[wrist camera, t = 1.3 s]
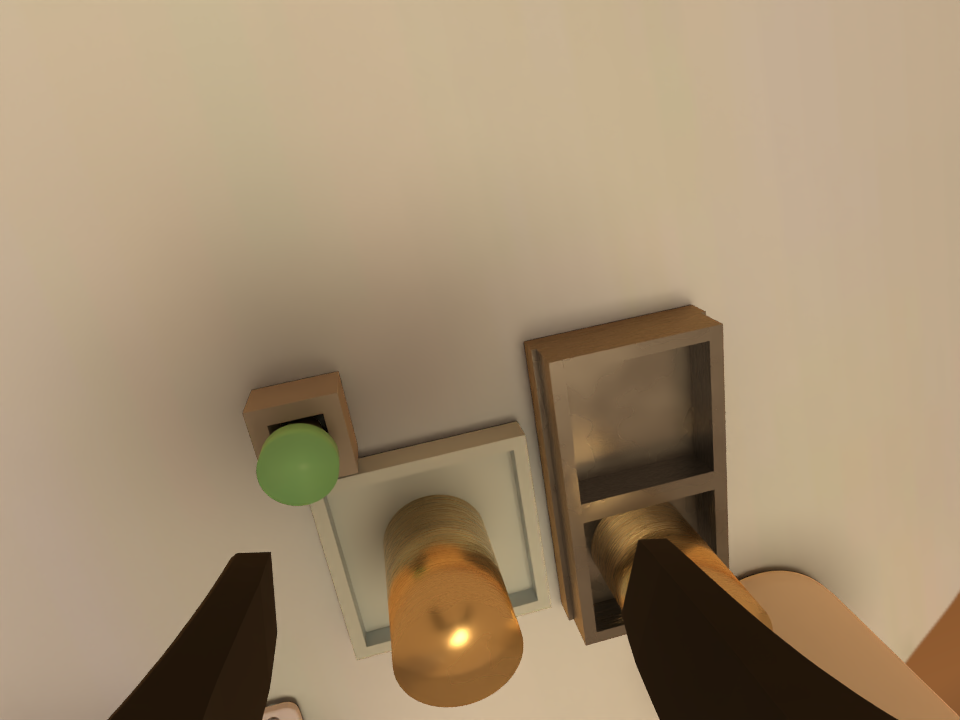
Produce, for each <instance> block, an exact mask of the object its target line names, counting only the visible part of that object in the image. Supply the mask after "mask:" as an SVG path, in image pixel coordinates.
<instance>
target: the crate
mask: <svg viewBox="0 0 960 720" xmlns="http://www.w3.org/2000/svg"><path fill="white" fill-rule="evenodd" d="M524 346H525V353H526V360H527V367H528V373H529V380H530V387H531V394H532V401H533V408H534V415H535V422H536V429H537V436H538V443H539V450H540V456H541V463H542V470H543V477H544V484H545V491H546V498H547V505H548V512H549V519H550V526H551V533H552V539H553V546H554V553H555V560H556V567H557V574H558V581H559V588H560V595H561V602H562V606H563V608H564V610H565V612H566V614H567V617H568V619H569V620H572V619H574V621H575V623H576V625H577V627H578V629H579V632H580V634H581V636H582V638H583V640H584V643H585V645H590V644H593V643H597V642H600V641H604V640H607V639H611V638H614V637H618V636H622V635H625V634H627V633H626V629H625V625H624V622H623V618H622V615H621V613H622V610H621V608H620V606H619V605H618V603H617V601H616V599H615V598H614V596H613V594H612V592H611V591H610V589H609V587H608V585H607V584H606V582H605V580H604V578H603V577H602V575H601V573H600V571H599V570H598V568H597V566H596V564H595V563H594V560H593V557H592V553H591V544H592V538H593V535H594V532H595V530H596V528H597V526H598V524H599V523H600V522H601V520H602V519H603V518H606V517H610V516H613V515H617V514H621V513H625V512H629V511H633V510H637V509H641V508H645V507H648V506H652V505H656V504H660V503H664V502H669V503H670V504H672V505H673V506H674V507H675V508H676V509H677V510H678V511H679V513H680V514H681V515H682V516H683V517H684V518H685V519H686V521H687V522H688V523H689V524H690V525H691V526H692V528H693V529H694V530H695V531H696V532H697V533H698V534H699V536H700V537H701V538H702V539H703V540H704V541H705V542H706V544H707V545H708V546H709V547H710V548H711V549H712V550H713V552H714V553H715V554H716V555H717V556H718V557H719V559H720V560H721V561H722V562H723V563H724V564H725V565H726V567H727V568H728V569H729V548H728V509H727V469H726V430H725V391H724V352H723V324H722V323H720V322H718V321H716V320H714V319H712V318H710V317H708V316H706V311H703V310H701V309H699V308H697V307H695V306H693V305H689V306H684V307H680V308H675V309H670V310H666V311H661V312H657V313H652V314H648V315H643V316H638V317H634V318H629V319H625V320H620V321H616V322H611V323H607V324H602V325H597V326H593V327H588V328H584V329H579V330H575V331H570V332H565V333H561V334H556V335H552V336H547V337H543V338H538V339H533V340H529V341H524Z"/></svg>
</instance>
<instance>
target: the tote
mask: <svg viewBox="0 0 960 720" xmlns="http://www.w3.org/2000/svg"><path fill="white" fill-rule="evenodd" d="M430 495H450V496H454V497H458V498H460V499H462V500H465V501H466V502H468V503H469V504H471V505H472V506H473V507H474V508H475V509H476V510H477V511H478V513H479V514H480V516H481V518H482V520H483V522H484V525H485V528H486V531H487V534H488V537H489V540H490V543H491V546H492V548H493V551H494V554H495V557H496V560H497V563H498V566H499V569H500V572H501V575H502V578H503V581H504V584H505V586H506V589H507V592H508V595H509V598H510V601H511V604H512V607H513V610H514V613H515V616H516V617H518V616H521V615H525V614H529V613H532V612H536V611H540V610H543V609H547V608H551V601H550V595H549V588H548V582H547V575H546V569H545V562H544V555H543V549H542V542H541V536H540V529H539V523H538V516H537V510H536V503H535V496H534V490H533V483H532V477H531V470H530V464H529V457H528V450H527V444H526V437H525V434H524V432H523V430H522V429H521V427H520V425H519V424H518V422H517V421H516V422H512V423H508V424H503V425H499V426H495V427H491V428H486V429H482V430H478V431H473V432H469V433H465V434H461V435H456V436H452V437H448V438H444V439H439V440H435V441H431V442H427V443H422V444H418V445H414V446H409V447H405V448H401V449H397V450H392V451H388V452H384V453H380V454H375V455H371V456H367V457H363V458H358V473H355V474H351V475H347V476H343V477H338V480H337V482H336V484H335V486H334V488H333V489H332V490H331V492H330V493H329V494H328V495H327V496H325V497H324V498H322V499H321V500H319V501H317V502H315V503H312V504H310V507H311V510H312V514H313V517H314V520H315V524H316V527H317V530H318V534H319V537H320V540H321V544H322V547H323V550H324V554H325V557H326V560H327V563H328V567H329V570H330V573H331V577H332V580H333V583H334V587H335V590H336V593H337V597H338V600H339V603H340V606H341V610H342V613H343V616H344V620H345V623H346V626H347V630H348V633H349V636H350V640H351V643H352V646H353V650H354V653H355V656H356V659H357V660H360V659H364V658H367V657H371V656H375V655H378V654H382V653H386V652H389V651H392V649H391V637H390V624H389V611H388V599H387V586H386V573H385V560H384V548H383V540H384V534H385V530H386V528H387V526H388V524H389V522H390V520H391V519H392V517H393V516H394V515H395V514H396V513H397V512H398V511H399V510H400V509H401V508H402V507H404V506H405V505H406V504H408V503H410V502H412V501H414V500H416V499H418V498H421V497H425V496H430Z"/></svg>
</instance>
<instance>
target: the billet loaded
mask: <svg viewBox="0 0 960 720" xmlns="http://www.w3.org/2000/svg"><path fill="white" fill-rule="evenodd" d="M663 538H667V539H668V540H669V541H670V542H672V543H673V544H674V545H675V546H676V547H677V548H678V549H680V550H681V551H682V552H683V553H684V554H685V555H686V556H687V557H688V558H690V559H691V560H692V561H693V562H694V563H695V564H696V565H697V566H698V567H699V568H701V569H702V570H703V571H704V572H705V573H706V574H707V575H708V576H709V577H710V578H712V579H713V580H714V581H715V582H716V583H717V584H718V585H719V586H720V587H722V588H723V589H724V590H725V591H726V592H727V593H728V594H729V595H731V596H732V597H733V598H734V599H735V600H736V601H737V602H739V603H740V604H741V605H742V606H743V607H744V608H745V609H747V610H748V611H749V612H750V613H751V614H752V615H754V616H755V617H756V618H757V619H758V620H760V621H761V622H762V623H763V624H764V625H766V626H767V627H768V628H769V629H770V630H772V631H773V627H772V623H771V620H770V618H769V616H768V614H767V613H766V611H765V610H764V609H763V608H762V607H761V606H760V604H759V603H758V602H757V601H756V600H755V599H754V598H753V596H752V595H751V594H750V593H749V592H748V591H747V590H746V588H745V587H744V586H743V585H742V584H741V583H740V581H739V580H738V579H737V578H736V577H735V576H734V575H733V573H732V572H731V571H730V570H729V569H728V568H727V567H726V565H725V564H724V563H723V562H722V561H721V560H720V559H719V557H718V556H717V555H716V554H715V553H714V552H713V550H712V549H711V548H710V547H709V546H708V545H707V544H706V542H705V541H704V540H703V539H702V538H701V537H700V536H699V534H698V533H697V532H696V531H695V530H694V529H693V528H692V526H691V525H690V524H689V523H688V522H687V521H686V519H685V518H684V517H683V516H682V515H681V514H680V513H679V511H678V510H677V509H676V508H675V507H674V506H673V505H672V504H670V503H669V502H664V503H660V504H656V505H652V506H648V507H645V508H641V509H637V510H633V511H629V512H625V513H621V514H617V515H613V516H610V517H606V518H603V519H602V520H601V522H600V523H599V524H598V526H597V528H596V530H595V532H594V535H593V538H592V544H591V553H592V557H593V560H594V563H595V564H596V566H597V568H598V570H599V571H600V573H601V575H602V577H603V578H604V580H605V582H606V584H607V585H608V587H609V589H610V591H611V592H612V594H613V596H614V598H615V599H616V601H617V603H618V605H619V606H620V608H621V610H622V608H623V604H624V600H625V595H626V591H627V587H628V582H629V578H630V574H631V569H632V565H633V561H634V556H635V552H636V548H637V543H638V539H663Z"/></svg>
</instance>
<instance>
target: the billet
mask: <svg viewBox="0 0 960 720" xmlns="http://www.w3.org/2000/svg"><path fill="white" fill-rule="evenodd" d="M383 548H384V560H385V573H386V586H387V599H388V611H389V624H390V637H391V649H392V662H393V670H394V675H395V677H396V680H397V682H398V684H399V685H400V687H401V688H402V689H403V690H404V691H405V692H406V693H407V694H408V695H409V696H411V697H412V698H414V699H415V700H417V701H419V702H422V703H424V704H428V705H431V706H437V707H457V706H463V705H468V704H471V703H474V702H477V701H480V700H482V699H484V698H486V697H488V696H490V695H491V694H493V693H494V692H496V691H497V690H499V689H500V688H501V687H502V686H503V685H504V684H506V683H507V681H508V680H509V679H510V678H511V677H512V675H513V674H514V673H515V671H516V669H517V667H518V666H519V663H520V661H521V658H522V653H523V637H522V634H521V630H520V627H519V624H518V622H517V619H516V616H515V613H514V610H513V607H512V604H511V601H510V598H509V595H508V592H507V589H506V586H505V584H504V581H503V578H502V575H501V572H500V569H499V566H498V563H497V560H496V557H495V554H494V551H493V548H492V546H491V543H490V540H489V537H488V534H487V531H486V528H485V525H484V522H483V520H482V518H481V516H480V514H479V513H478V511H477V510H476V509H475V508H474V507H473V506H472V505H471V504H469V503H468V502H466V501H465V500H462V499H460V498H458V497H454V496H450V495H430V496H425V497H421V498H418V499H416V500H414V501H412V502H410V503H408V504H406V505H405V506H404V507H402V508H401V509H400V510H399V511H398V512H397V513H396V514H395V515H394V516H393V517H392V519H391V520H390V522H389V524H388V526H387V528H386V530H385V534H384V540H383Z"/></svg>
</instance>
